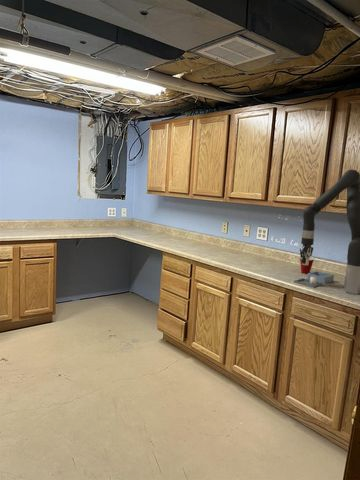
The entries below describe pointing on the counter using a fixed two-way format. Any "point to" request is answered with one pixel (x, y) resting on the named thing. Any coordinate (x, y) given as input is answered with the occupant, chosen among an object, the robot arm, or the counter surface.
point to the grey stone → (313, 280)
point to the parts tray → (307, 282)
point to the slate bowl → (321, 277)
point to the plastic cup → (306, 268)
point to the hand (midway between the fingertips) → (305, 262)
